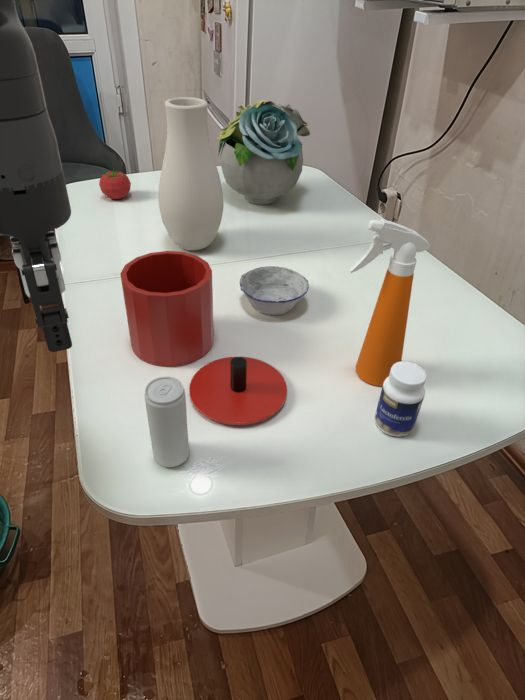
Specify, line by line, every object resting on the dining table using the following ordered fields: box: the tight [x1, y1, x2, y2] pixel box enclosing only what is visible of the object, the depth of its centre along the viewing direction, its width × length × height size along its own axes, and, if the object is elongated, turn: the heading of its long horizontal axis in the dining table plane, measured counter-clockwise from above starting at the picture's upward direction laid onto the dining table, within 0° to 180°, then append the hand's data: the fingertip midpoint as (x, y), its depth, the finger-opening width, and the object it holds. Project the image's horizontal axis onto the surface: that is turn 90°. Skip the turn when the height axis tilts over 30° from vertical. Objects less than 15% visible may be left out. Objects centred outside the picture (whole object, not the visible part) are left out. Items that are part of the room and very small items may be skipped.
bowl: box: [239, 265, 310, 316], centre depth 96 cm, size 13×13×5 cm
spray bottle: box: [349, 218, 432, 387], centre depth 75 cm, size 7×11×26 cm, turn 94°
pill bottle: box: [374, 360, 427, 437], centre depth 71 cm, size 6×6×10 cm
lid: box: [188, 356, 288, 426], centre depth 76 cm, size 15×15×6 cm
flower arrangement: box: [216, 99, 311, 206], centre depth 131 cm, size 25×25×24 cm
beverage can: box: [143, 376, 190, 468], centre depth 64 cm, size 5×5×12 cm
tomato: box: [98, 168, 132, 200], centre depth 133 cm, size 8×8×8 cm
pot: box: [120, 250, 215, 368], centre depth 83 cm, size 14×14×14 cm
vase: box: [157, 96, 224, 251], centre depth 106 cm, size 14×14×30 cm
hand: (55, 324), depth 53 cm, fingers open, 8 cm apart
